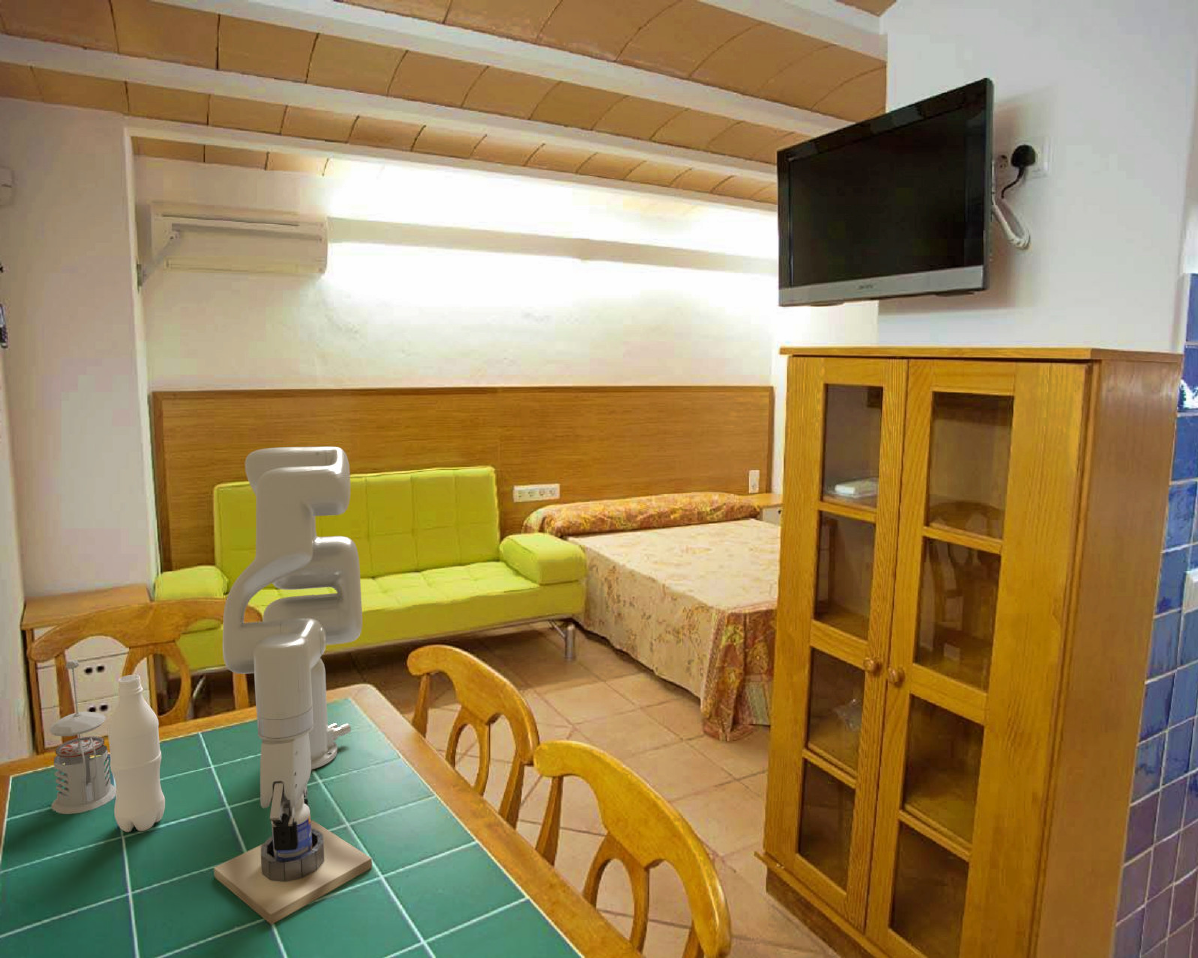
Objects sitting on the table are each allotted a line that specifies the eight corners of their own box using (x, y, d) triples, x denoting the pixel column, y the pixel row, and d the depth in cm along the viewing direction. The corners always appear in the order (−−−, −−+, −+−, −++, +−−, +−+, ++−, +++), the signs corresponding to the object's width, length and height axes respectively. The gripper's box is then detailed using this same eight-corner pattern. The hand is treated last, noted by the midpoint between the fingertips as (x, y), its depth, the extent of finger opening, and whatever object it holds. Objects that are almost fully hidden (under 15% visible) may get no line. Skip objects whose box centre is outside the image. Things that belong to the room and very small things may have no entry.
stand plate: (312, 828, 130) (312, 820, 130) (371, 867, 120) (371, 858, 120) (214, 876, 118) (213, 867, 118) (271, 924, 108) (270, 914, 108)
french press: (109, 777, 146) (97, 645, 143) (127, 802, 138) (115, 663, 134) (45, 797, 139) (31, 660, 136) (60, 825, 131) (45, 679, 128)
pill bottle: (319, 856, 119) (316, 795, 118) (284, 873, 115) (280, 810, 114) (301, 841, 123) (298, 782, 122) (267, 857, 119) (263, 796, 118)
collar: (304, 838, 125) (303, 820, 125) (335, 860, 120) (334, 841, 119) (250, 865, 118) (249, 846, 118) (281, 889, 113) (280, 869, 113)
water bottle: (144, 838, 127) (131, 688, 124) (105, 833, 129) (91, 685, 125) (176, 814, 134) (165, 671, 131) (139, 809, 136) (127, 668, 132)
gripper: (276, 696, 124) (282, 805, 127) (238, 750, 107) (246, 874, 110) (326, 695, 125) (331, 803, 127) (296, 747, 108) (303, 871, 111)
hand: (292, 835), depth 119 cm, fingers closed on pill bottle, 5 cm apart
